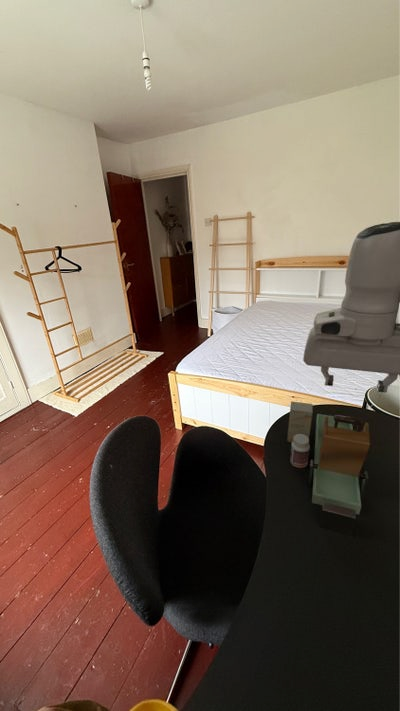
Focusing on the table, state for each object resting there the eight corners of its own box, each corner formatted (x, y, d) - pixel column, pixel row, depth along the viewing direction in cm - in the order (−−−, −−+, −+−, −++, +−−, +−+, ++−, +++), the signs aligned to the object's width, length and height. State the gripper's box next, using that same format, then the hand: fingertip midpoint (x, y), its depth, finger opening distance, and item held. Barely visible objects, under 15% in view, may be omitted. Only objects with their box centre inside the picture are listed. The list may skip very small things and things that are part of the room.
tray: (359, 514, 68) (361, 506, 67) (311, 502, 71) (313, 494, 70) (350, 426, 94) (351, 419, 93) (316, 420, 98) (317, 413, 97)
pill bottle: (311, 464, 82) (314, 441, 78) (297, 470, 80) (299, 447, 77) (300, 453, 86) (302, 430, 82) (286, 458, 84) (288, 435, 81)
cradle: (367, 540, 62) (374, 518, 59) (305, 523, 67) (308, 501, 64) (362, 493, 73) (367, 471, 70) (308, 480, 77) (310, 459, 74)
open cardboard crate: (373, 435, 58) (371, 413, 62) (326, 427, 61) (327, 406, 65) (357, 477, 70) (357, 456, 73) (318, 468, 73) (319, 449, 76)
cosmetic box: (287, 442, 90) (289, 409, 85) (288, 432, 94) (290, 400, 89) (309, 445, 88) (312, 412, 83) (309, 436, 92) (312, 403, 87)
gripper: (430, 319, 52) (411, 386, 58) (307, 313, 59) (302, 373, 65) (442, 332, 47) (420, 404, 53) (305, 324, 54) (300, 388, 60)
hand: (354, 387), depth 59 cm, fingers open, 8 cm apart
